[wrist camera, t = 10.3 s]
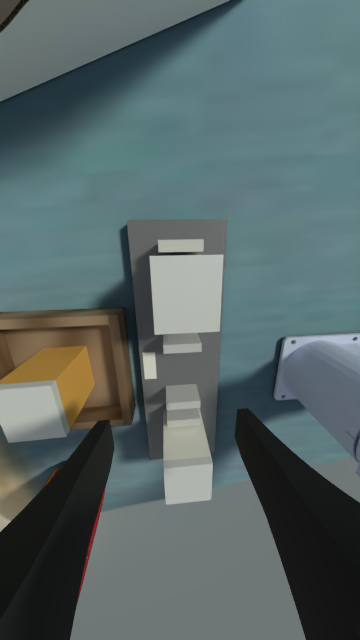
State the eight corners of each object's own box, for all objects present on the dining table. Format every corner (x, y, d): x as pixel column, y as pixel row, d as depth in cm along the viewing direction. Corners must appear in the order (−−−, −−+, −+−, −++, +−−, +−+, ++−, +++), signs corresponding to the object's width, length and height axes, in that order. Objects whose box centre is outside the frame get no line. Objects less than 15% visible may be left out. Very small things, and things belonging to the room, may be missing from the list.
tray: (123, 307, 18) (117, 315, 15) (135, 406, 21) (131, 425, 19) (-8, 312, 17) (-36, 321, 14) (27, 414, 20) (9, 435, 18)
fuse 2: (199, 407, 21) (212, 463, 15) (198, 438, 22) (211, 499, 17) (163, 410, 21) (163, 468, 15) (165, 441, 22) (165, 504, 16)
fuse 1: (202, 256, 16) (223, 254, 10) (201, 307, 17) (219, 331, 12) (154, 257, 16) (149, 255, 10) (157, 309, 17) (154, 334, 11)
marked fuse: (86, 345, 18) (50, 385, 12) (94, 384, 19) (66, 436, 14) (42, 348, 18) (-15, 390, 12) (54, 388, 19) (8, 442, 13)
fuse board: (223, 222, 16) (238, 212, 13) (212, 445, 24) (220, 475, 21) (128, 222, 15) (119, 212, 12) (150, 451, 24) (148, 483, 20)
